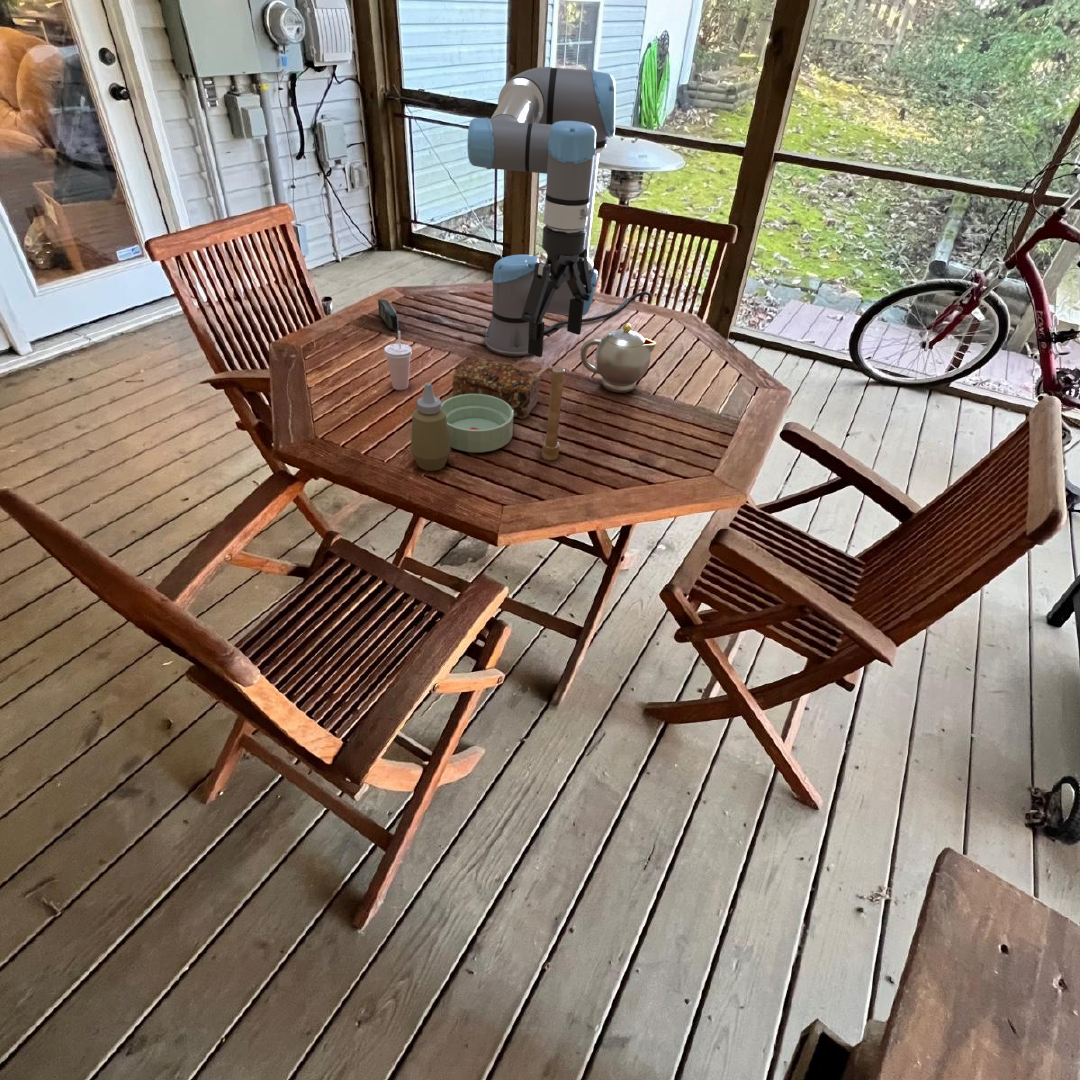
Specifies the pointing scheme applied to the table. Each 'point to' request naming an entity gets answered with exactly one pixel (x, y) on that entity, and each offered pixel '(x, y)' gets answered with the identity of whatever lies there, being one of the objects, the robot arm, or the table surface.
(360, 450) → the table surface
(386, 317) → the dark grey tapered piece
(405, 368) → the smoothie
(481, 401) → the bowl
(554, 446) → the muddler
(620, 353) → the teapot
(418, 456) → the squeeze bottle
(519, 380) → the bread
